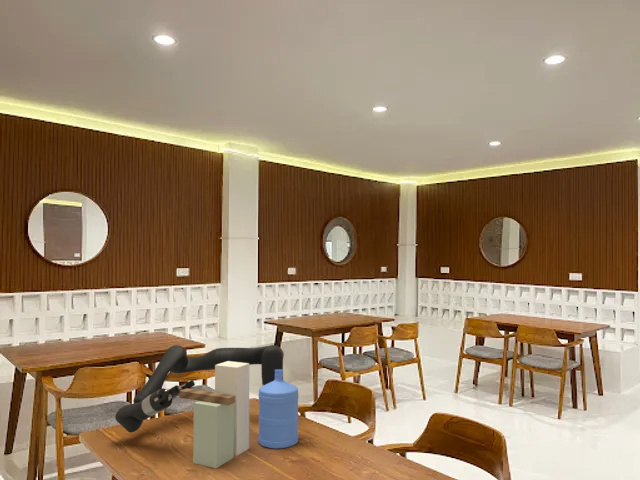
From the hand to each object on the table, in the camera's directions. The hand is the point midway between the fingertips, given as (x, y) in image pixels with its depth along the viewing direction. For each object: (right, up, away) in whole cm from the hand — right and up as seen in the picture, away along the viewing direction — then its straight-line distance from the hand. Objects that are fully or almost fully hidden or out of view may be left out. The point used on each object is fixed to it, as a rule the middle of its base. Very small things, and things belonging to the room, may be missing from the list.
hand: (186, 385), depth 188 cm
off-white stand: (+16, -25, +4) cm, 30 cm away
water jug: (+33, -26, +12) cm, 44 cm away
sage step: (+12, -25, -6) cm, 28 cm away
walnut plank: (+9, -4, -4) cm, 11 cm away
